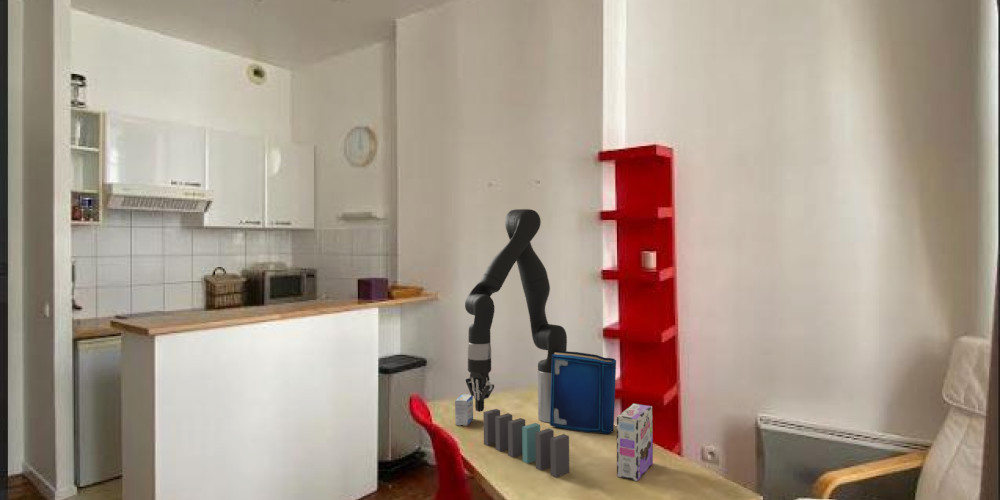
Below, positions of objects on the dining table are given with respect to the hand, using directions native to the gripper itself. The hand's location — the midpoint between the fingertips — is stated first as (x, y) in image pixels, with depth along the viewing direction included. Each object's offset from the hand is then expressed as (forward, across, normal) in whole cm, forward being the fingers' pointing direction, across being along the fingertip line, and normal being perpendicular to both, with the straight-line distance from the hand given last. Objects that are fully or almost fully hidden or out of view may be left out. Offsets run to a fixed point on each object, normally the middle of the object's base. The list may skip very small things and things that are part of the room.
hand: (479, 410), depth 179 cm
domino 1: (+9, -6, 0) cm, 11 cm away
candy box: (+9, -47, -18) cm, 51 cm away
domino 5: (+9, -30, 0) cm, 31 cm away
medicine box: (+9, +16, -5) cm, 19 cm away
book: (+9, -15, -32) cm, 36 cm away
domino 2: (+9, -12, 0) cm, 15 cm away
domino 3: (+9, -18, 0) cm, 20 cm away
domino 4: (+9, -24, -1) cm, 26 cm away
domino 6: (+9, -36, 0) cm, 37 cm away
